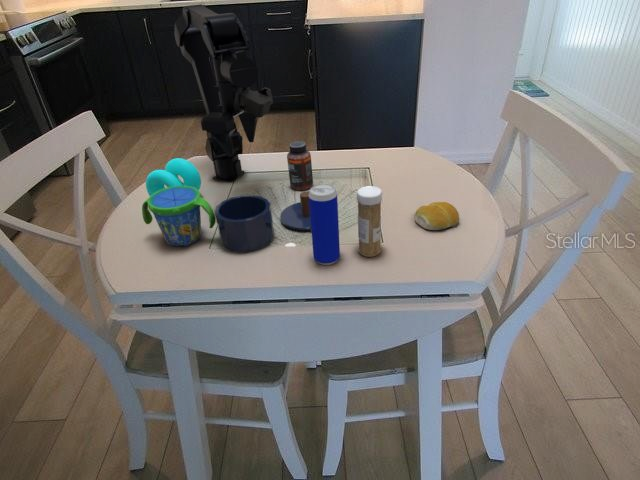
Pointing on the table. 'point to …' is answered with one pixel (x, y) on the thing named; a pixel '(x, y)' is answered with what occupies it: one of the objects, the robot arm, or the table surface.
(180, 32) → the robot arm
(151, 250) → the table surface
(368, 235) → the spice jar
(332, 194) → the beverage can
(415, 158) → the table surface
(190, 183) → the donuts
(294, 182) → the supplement bottle
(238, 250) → the navy blue pot
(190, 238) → the snack cup
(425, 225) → the bread roll
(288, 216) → the lid
